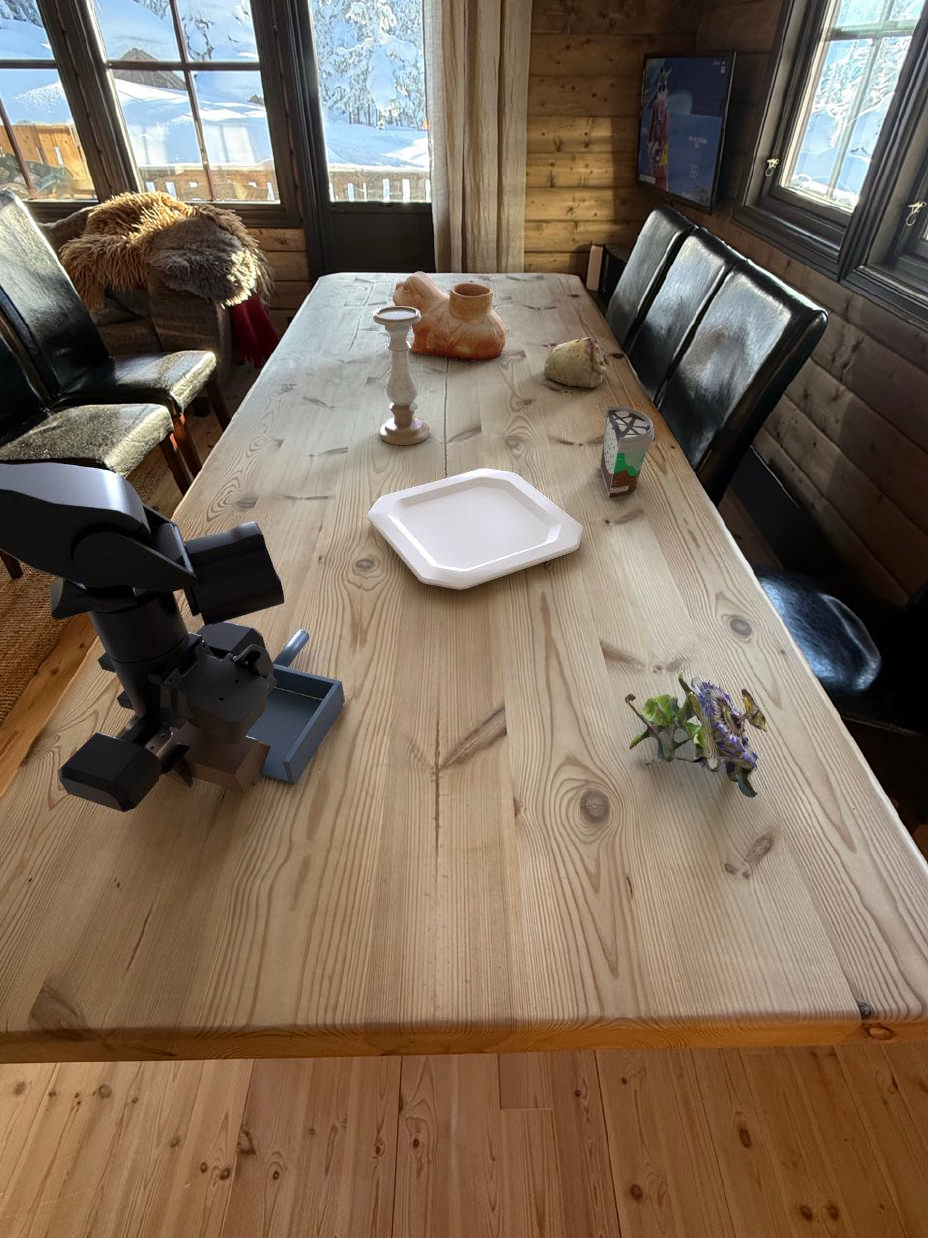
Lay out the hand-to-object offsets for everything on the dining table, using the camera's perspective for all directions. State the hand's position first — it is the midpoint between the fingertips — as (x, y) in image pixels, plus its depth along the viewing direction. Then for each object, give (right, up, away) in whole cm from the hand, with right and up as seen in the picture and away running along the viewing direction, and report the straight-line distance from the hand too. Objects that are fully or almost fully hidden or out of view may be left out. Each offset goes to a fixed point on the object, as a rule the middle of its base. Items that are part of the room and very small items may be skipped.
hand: (200, 767), depth 59 cm
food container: (+49, +35, +44) cm, 74 cm away
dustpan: (+3, +5, +9) cm, 11 cm away
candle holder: (+13, +46, +57) cm, 74 cm away
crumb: (+3, 0, +1) cm, 3 cm away
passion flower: (+45, 0, +3) cm, 45 cm away
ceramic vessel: (+21, +75, +90) cm, 119 cm away
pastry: (+47, +63, +77) cm, 110 cm away
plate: (+25, +25, +33) cm, 49 cm away
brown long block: (0, 0, 0) cm, 0 cm away
